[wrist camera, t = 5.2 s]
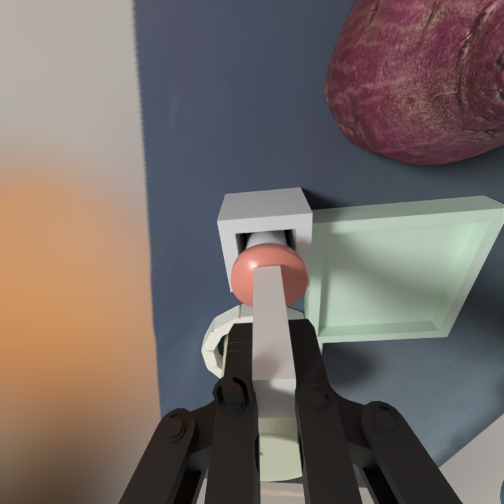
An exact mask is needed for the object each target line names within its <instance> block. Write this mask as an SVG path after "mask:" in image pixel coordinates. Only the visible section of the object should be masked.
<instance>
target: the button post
mask: <svg viewBox="0 0 504 504" xmlns="http://www.w3.org/2000/svg"><path fill="white" fill-rule="evenodd" d="M312 215H313V213H312V211H311V209H310V207H309V204H308V202H307V200H306V198H305V196H304V194H303V192H302V189H301V187H299V188H288V189H277V190H266V191H254V192H243V193H232V194H225V197H224V200H223V204H222V207H221V210H220V213H219V217H218V220H217V223H218V228H219V233H220V239H221V244H222V249H223V254H224V260H225V265H226V270H227V275H228V281H229V286H230V291H231V292H233V290H232V287H231V272H232V267H233V264H234V262H235V260H236V258H237V257H238V256H239V255H240V254H241V253H242V252H243V251H244V250H246V246H245V244H244V236H243V233H249V232H261V231H274V230H287V229H289V243H287V246H288V247H289V248H291V249H293V250H294V251H296V252H297V253H298V254H299V255H300V257H301V258H302V260H303V262H304V264H305V268H306V271H307V275H308V284H307V287H310V269H311V242H312Z"/></svg>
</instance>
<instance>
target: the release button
mask: <svg viewBox="0 0 504 504" xmlns="http://www.w3.org/2000/svg"><path fill="white" fill-rule="evenodd" d="M278 265H280V268H281V275H282V282H283V290H284V297H285V304H286V307H287V306H289V305H291V304H293V303H294V302H296V301H297V300H298V299H299V298H300V297H301V296H302V295H303V293H304V292H305V290H306V288H307V284H308V275H307V271H306V268H305V264H304V262H303V260H302V258H301V257H300V255H299V254H298V253H297V252H296V251H294V250H293V249H291V248H289V247H288V246H287V241H286V236H285V231H284V230H274V231H261V232H249V233H247V244H246V250H244V251H243V252H242V253H241V254H240V255H239V256H238V257H237V258H236V260H235V262H234V264H233V267H232V272H231V287H232V290H233V293H234V294H235V296H236V297H237V298H238V299H239V300H240V301H241V302H243V303H244V304H246V305H248V306H250V307H252V308H253V280H254V267H264V266H278Z"/></svg>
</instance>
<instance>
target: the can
mask: <svg viewBox="0 0 504 504" xmlns="http://www.w3.org/2000/svg"><path fill="white" fill-rule="evenodd" d="M227 342H228V334H226V336H225V338H224V356H223V365H222V373H221V378H222V377H223V376H224V368H225V359H226V353H227V351H226V350H227ZM258 426H259V436H260V481H281V480H288V479H293V478H297V477H300V476H302V471H301V462H300V454H299V445H298V444H297V422H296V417H285V418H258Z"/></svg>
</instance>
